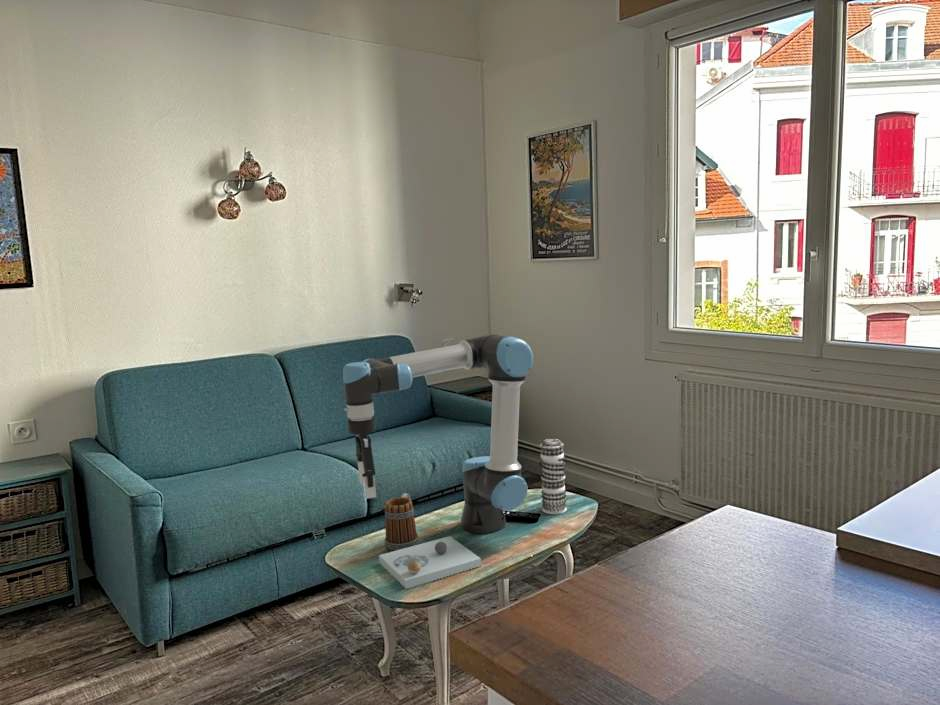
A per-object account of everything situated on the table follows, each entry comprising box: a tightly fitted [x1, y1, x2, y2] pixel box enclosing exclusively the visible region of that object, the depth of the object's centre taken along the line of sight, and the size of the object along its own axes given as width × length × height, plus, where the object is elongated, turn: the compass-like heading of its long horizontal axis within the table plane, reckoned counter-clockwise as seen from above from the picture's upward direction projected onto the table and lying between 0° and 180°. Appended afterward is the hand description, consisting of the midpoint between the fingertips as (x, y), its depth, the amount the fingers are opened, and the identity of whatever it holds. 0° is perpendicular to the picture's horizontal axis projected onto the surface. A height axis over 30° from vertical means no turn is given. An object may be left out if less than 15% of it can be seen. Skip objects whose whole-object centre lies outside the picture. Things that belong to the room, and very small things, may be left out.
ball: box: [435, 542, 447, 554], centre depth 216 cm, size 4×4×4 cm
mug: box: [384, 492, 419, 552], centre depth 230 cm, size 16×11×15 cm
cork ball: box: [408, 560, 420, 574], centre depth 204 cm, size 4×4×4 cm
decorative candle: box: [538, 438, 568, 515], centre depth 251 cm, size 9×9×25 cm
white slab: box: [378, 535, 482, 590], centre depth 215 cm, size 24×20×2 cm
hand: (367, 489), depth 206 cm, fingers open, 13 cm apart
